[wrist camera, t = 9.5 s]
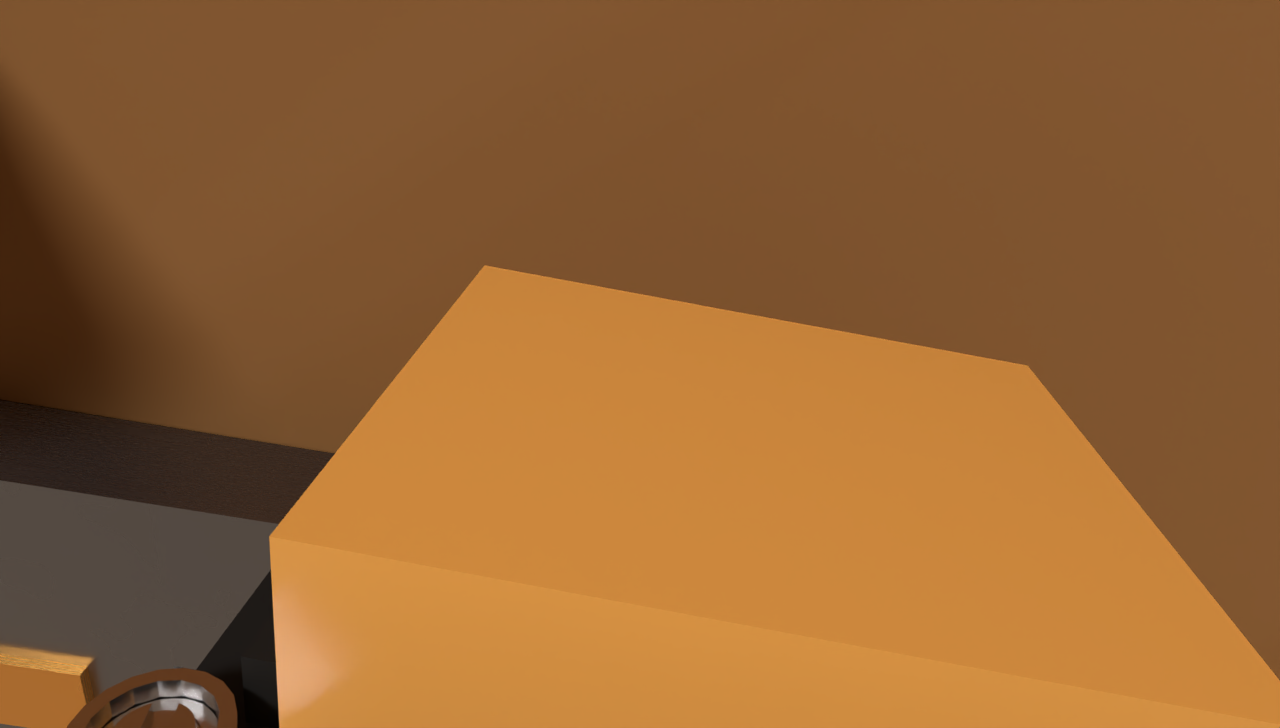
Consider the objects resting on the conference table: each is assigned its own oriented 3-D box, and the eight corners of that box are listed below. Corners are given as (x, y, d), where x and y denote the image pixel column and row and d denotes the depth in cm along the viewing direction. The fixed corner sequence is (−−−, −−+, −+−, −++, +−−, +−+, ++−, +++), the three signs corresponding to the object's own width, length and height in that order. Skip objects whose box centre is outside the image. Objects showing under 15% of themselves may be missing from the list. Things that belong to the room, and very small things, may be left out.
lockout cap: (1027, 365, 10) (1321, 733, 5) (868, 739, 13) (960, 1191, 8) (484, 265, 10) (268, 536, 5) (452, 661, 13) (298, 1066, 8)
